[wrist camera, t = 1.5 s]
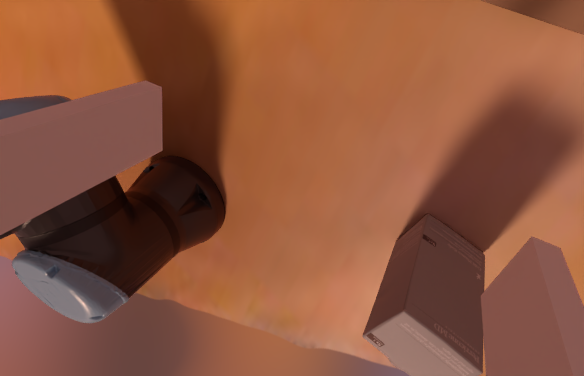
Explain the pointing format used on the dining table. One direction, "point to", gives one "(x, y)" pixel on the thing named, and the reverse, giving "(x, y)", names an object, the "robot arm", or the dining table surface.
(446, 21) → the dining table surface
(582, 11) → the board
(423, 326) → the skincare box
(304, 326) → the dining table surface
